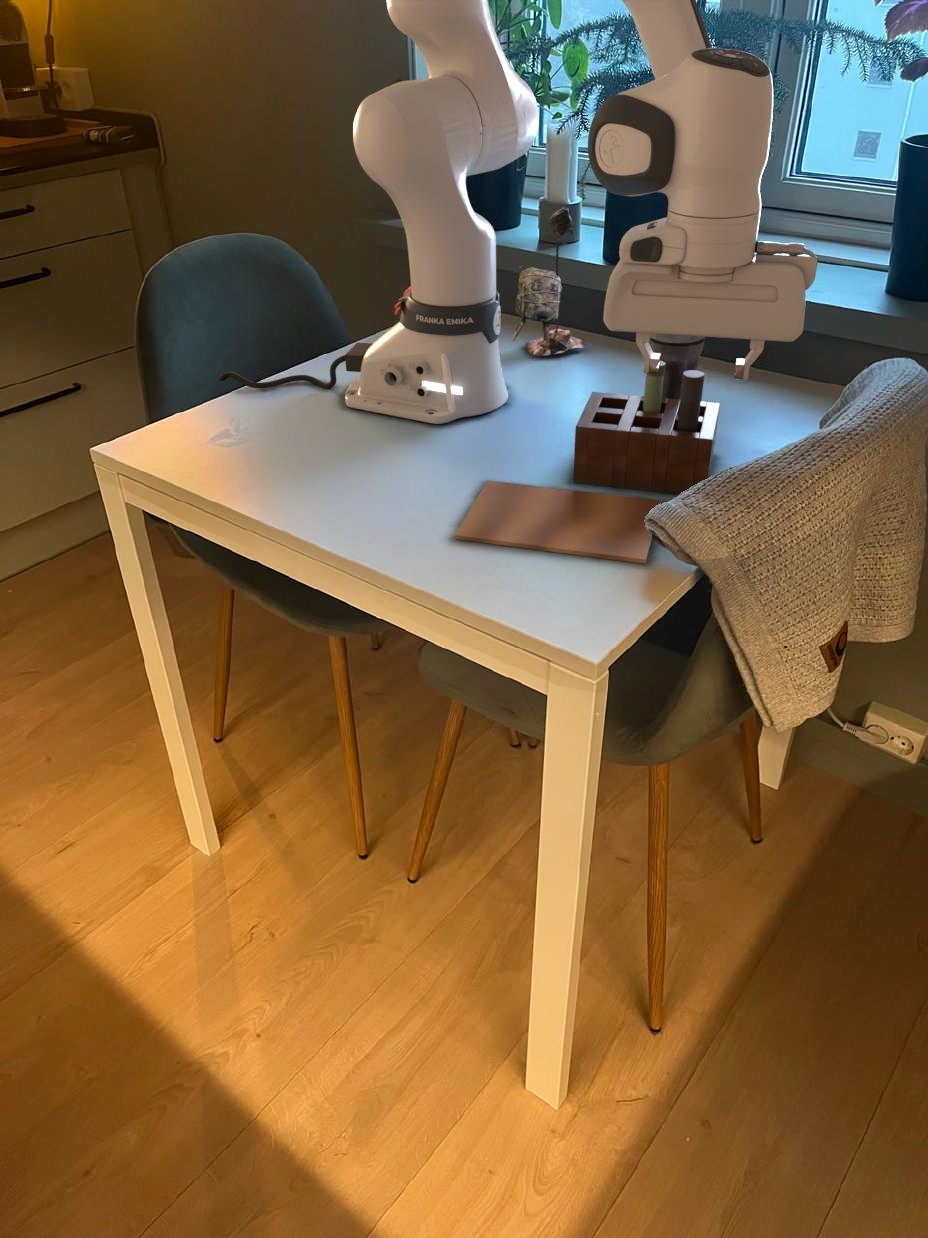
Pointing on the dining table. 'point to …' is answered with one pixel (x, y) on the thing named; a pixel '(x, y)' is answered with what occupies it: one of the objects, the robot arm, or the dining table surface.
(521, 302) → the mottled grey tall piece
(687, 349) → the beverage cup
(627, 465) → the pen stand
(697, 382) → the black marker
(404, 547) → the dining table surface
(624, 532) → the brown wooden board
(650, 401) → the sage marker
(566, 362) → the dining table surface
